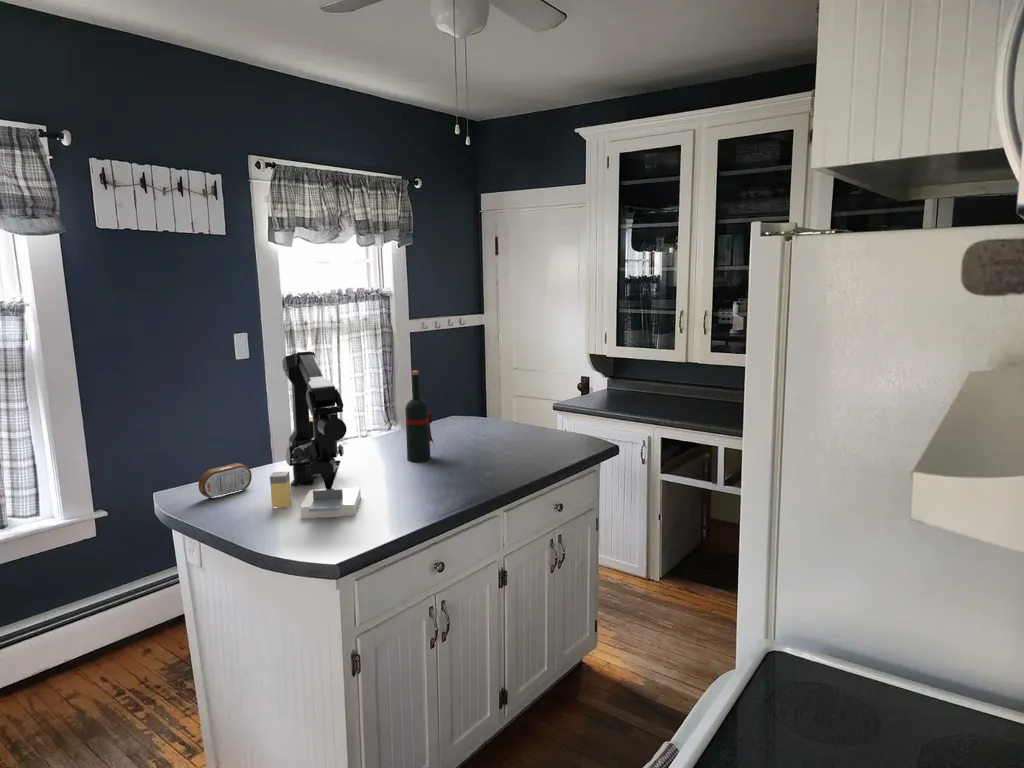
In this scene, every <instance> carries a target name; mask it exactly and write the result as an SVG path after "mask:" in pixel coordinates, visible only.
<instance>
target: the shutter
mask: <svg viewBox="0 0 1024 768" xmlns="http://www.w3.org/2000/svg"><path fill="white" fill-rule="evenodd" d="M312 490H313V502H312V504H311V506H310V508H309V512H317V511H335V510H339V509H340V507H341V504H342V502H343V491H342V487H336V488H332V489H326V488H318V489H317V488H315V489H312Z"/></svg>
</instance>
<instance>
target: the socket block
mask: <svg viewBox="0 0 1024 768" xmlns="http://www.w3.org/2000/svg"><path fill="white" fill-rule="evenodd" d="M341 488H342V487H341ZM313 490H314V489H311V490H310V489H309V490H308V493H307V494H306V496H305V498H304V500H303V501H302V503H301V504H300V507H299V511H300V512H299V514H300V519H301V518H302V519H314V518H315V519H316V518H317V517H320V518H334V517H335V518H336V517H354V516H356V513H357V511H358V508H357V507H359V504H360V502H359V501H361V498H362V497H361V487H346V488H344V487H343V488H342V491H343V502H342V504H341V507H340V509H339V510H335V511H317V512H309V508H310V506H311V504H312V502H313ZM317 519H318V518H317Z"/></svg>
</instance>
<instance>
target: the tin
mask: <svg viewBox="0 0 1024 768" xmlns="http://www.w3.org/2000/svg"><path fill="white" fill-rule="evenodd" d="M252 475H253V474H252V471H251V469H250V468H249V467H248V466H247V465H244V464H243V463H239V462H236V463H232V464H228V465H224V466H219V467H214V468H211V469H208V470H206V471H205V472H204V473H203V474H202V475H201V476H200V478H199V481H198V486H197V487H198V491H199V493H200V494H202V496H204V497H206V498H208V499H212V498H211V497H214V496H218V495H223V494H227V493H231V492H235V491H239V490H243V489H245V490H246V489H247V488H248V487H249V486H250V485H251V481H252ZM243 491H244V490H243Z"/></svg>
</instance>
